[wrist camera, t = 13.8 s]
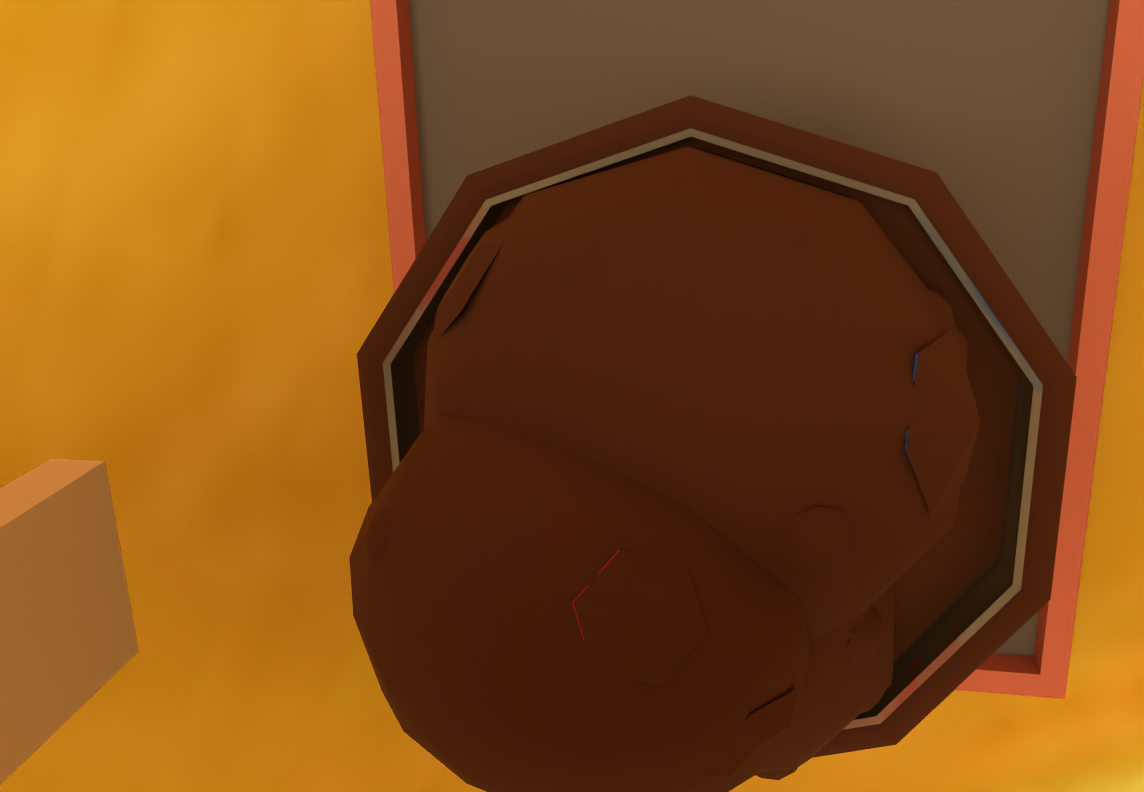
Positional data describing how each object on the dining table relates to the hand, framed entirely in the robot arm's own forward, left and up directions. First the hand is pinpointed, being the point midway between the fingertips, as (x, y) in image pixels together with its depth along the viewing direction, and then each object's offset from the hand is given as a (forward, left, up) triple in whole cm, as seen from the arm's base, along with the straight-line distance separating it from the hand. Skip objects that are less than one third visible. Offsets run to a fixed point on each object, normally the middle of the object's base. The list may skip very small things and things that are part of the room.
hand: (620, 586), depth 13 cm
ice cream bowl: (+1, 0, -14) cm, 14 cm away
